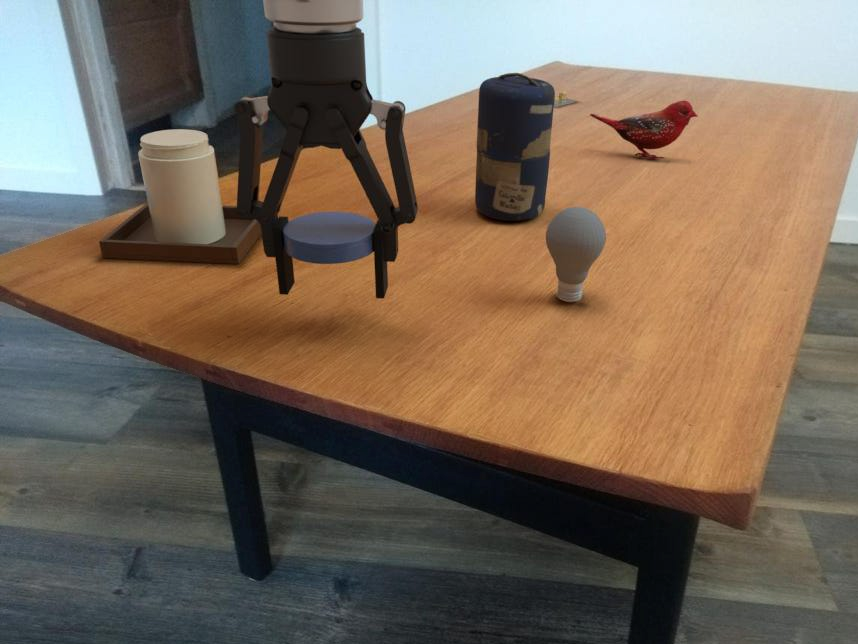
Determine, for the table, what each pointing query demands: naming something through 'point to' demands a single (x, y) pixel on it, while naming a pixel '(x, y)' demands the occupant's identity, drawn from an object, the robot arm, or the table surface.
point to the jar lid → (329, 237)
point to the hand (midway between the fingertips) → (334, 289)
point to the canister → (513, 146)
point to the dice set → (562, 99)
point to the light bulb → (574, 248)
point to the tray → (140, 243)
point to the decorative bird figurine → (653, 127)
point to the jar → (182, 186)
